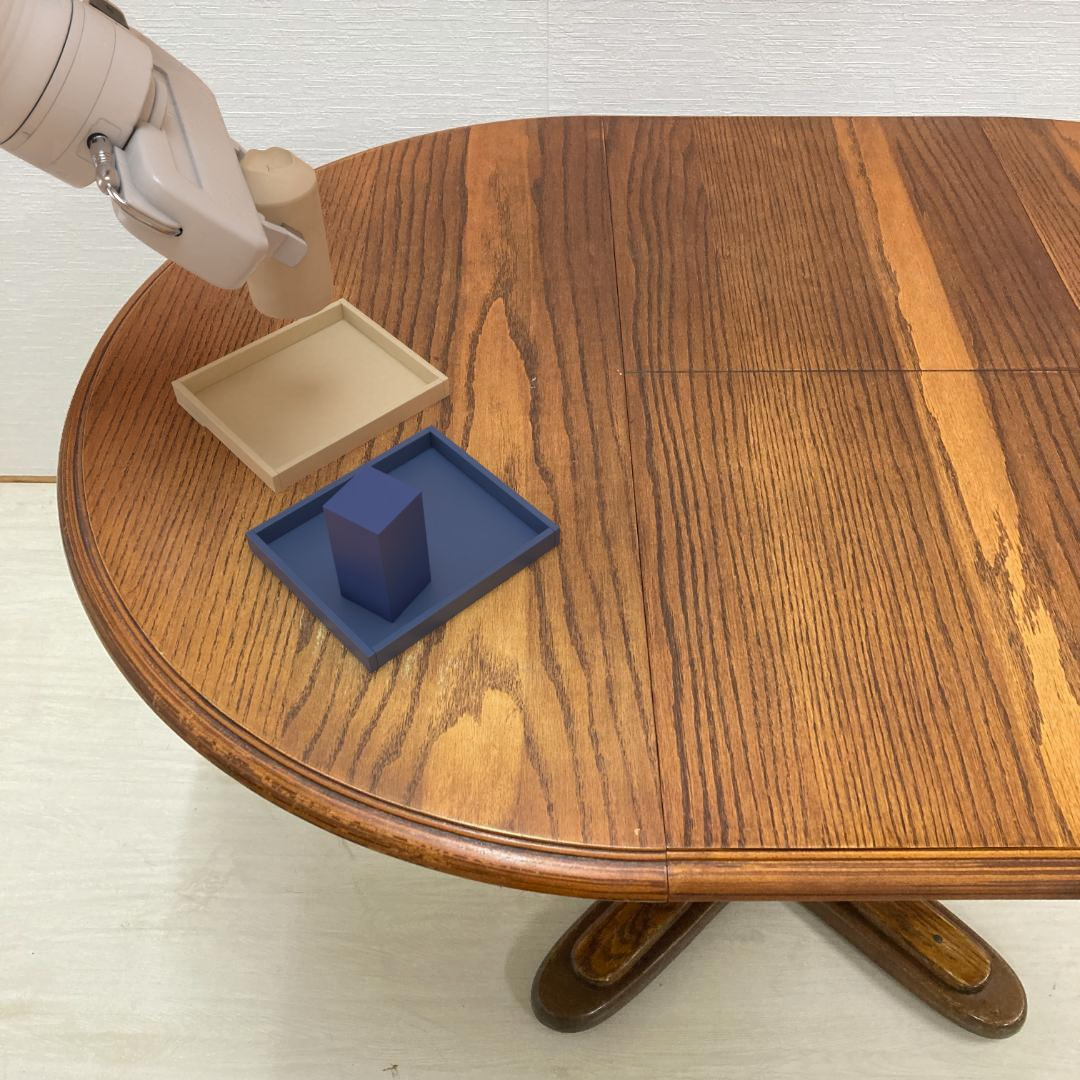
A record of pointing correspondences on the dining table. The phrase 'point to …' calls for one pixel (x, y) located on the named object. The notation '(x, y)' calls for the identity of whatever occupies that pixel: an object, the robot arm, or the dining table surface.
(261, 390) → the cream tray
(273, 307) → the candle
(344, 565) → the blue peg
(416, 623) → the blue tray
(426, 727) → the dining table surface
